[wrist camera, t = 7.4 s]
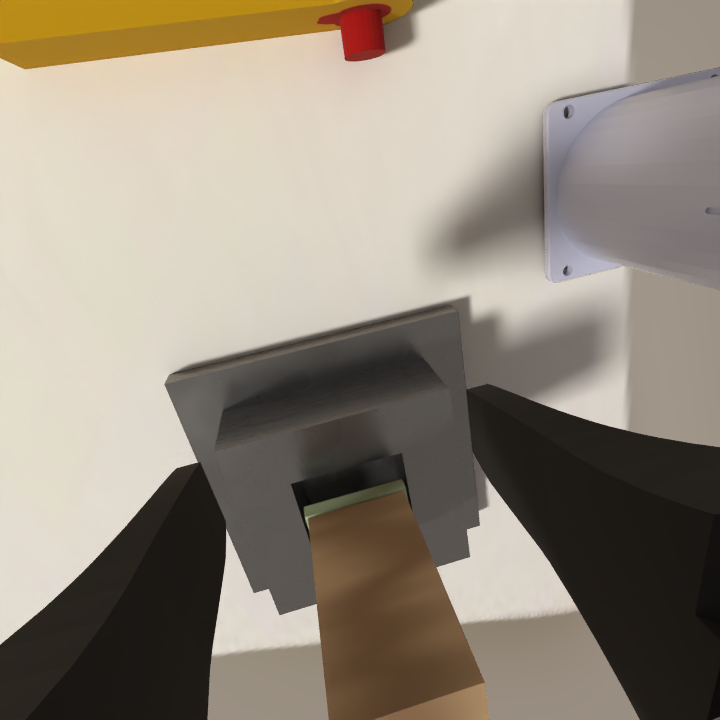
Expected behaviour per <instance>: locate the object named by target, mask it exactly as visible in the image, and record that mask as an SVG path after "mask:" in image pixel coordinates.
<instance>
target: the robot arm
mask: <svg viewBox="0 0 720 720" xmlns="http://www.w3.org/2000/svg"><path fill="white" fill-rule="evenodd" d="M565 107H567V108H568V109H569V115H568V117H567V118H565V117H564V114H563V112H564V109H565ZM543 155H544V226H545V275H546V278H547V279H548V280H549V281H551V282H554V283H556V282H562V281H566V280H570V279H574V278H578V277H582V276H586V275H590V274H594V273H598V272H602V271H606V270H610V269H614V268H618V267H622V266H625V267H629V268H633V269H637V270H641V271H645V272H649V273H653V274H657V275H661V276H665V277H669V278H674V279H677V280H681V281H685V282H689V283H693V284H697V285H701V286H705V287H709V288H713V289H717V290H720V67H719V68H714V69H710V70H705V71H700V72H695V73H690V74H686V75H681V76H676V77H671V78H667V79H662V80H657V81H652V82H647V83H643V84H637V85H632V86H628V87H623V88H618V89H613V90H608V91H603V92H599V93H594V94H589V95H584V96H579V97H574V98H570V99H565V100H560V101H556V102H553V103H550V104H549V105H548V106H547V107H546V108H545V111H544V114H543ZM566 266H568V269H567V272H566V273H564V274H563V269H564V268H565V267H566ZM466 394H467V403H468V413H469V422H470V431H471V441H472V450H473V453H474V455H475V456H476V458H477V460H478V462H479V464H480V466H481V467H482V469H483V471H484V473H485V474H486V476H487V478H488V479H489V481H490V483H491V484H492V485H493V487H494V488H495V489H496V491H497V492H498V493H499V495H500V496H501V497H502V499H503V500H504V501H505V503H506V504H507V505H508V507H509V508H510V509H511V511H512V512H513V513H514V515H515V516H516V517H517V519H518V520H519V521H520V523H521V524H522V525H523V526H524V528H525V529H526V530H527V532H528V533H529V534H530V536H531V537H532V538H533V540H534V541H535V542H536V544H537V545H538V546H539V548H540V549H541V550H542V552H543V553H544V555H545V556H546V558H547V559H548V561H549V562H550V563H551V565H552V567H553V568H554V570H555V572H556V573H557V575H558V576H559V578H560V580H561V581H562V583H563V585H564V586H565V588H566V590H567V591H568V593H569V594H570V596H571V598H572V599H573V601H574V603H575V604H576V606H577V608H578V610H579V611H580V613H581V615H582V616H583V618H584V620H585V622H586V623H587V625H588V627H589V628H590V630H591V632H592V634H593V635H594V637H595V639H596V640H597V642H598V644H599V646H600V647H601V649H602V651H603V653H604V655H605V656H606V658H607V660H608V662H609V664H610V666H611V667H612V669H613V671H614V673H615V674H616V676H617V678H618V680H619V682H620V683H621V685H622V687H623V689H624V691H625V692H626V694H627V696H628V698H629V700H630V702H631V704H632V706H633V708H634V709H635V711H636V713H637V715H638V717H639V719H640V720H720V447H714V446H707V445H699V444H692V443H686V442H681V441H675V440H669V439H663V438H658V437H653V436H647V435H643V434H638V433H634V432H630V431H626V430H622V429H618V428H614V427H610V426H606V425H602V424H599V423H595V422H592V421H589V420H586V419H583V418H579V417H576V416H573V415H570V414H567V413H564V412H561V411H558V410H556V409H553V408H550V407H547V406H545V405H542V404H539V403H537V402H534V401H532V400H529V399H526V398H524V397H521V396H519V395H516V394H514V393H511V392H509V391H506V390H503V389H501V388H498V387H495V386H492V385H489V384H486V385H482V386H478V387H474V388H471V389H467V390H466ZM225 559H226V520H225V518H224V516H223V513H222V511H221V509H220V506H219V504H218V502H217V500H216V497H215V495H214V493H213V490H212V488H211V486H210V483H209V481H208V479H207V476H206V474H205V472H204V469H203V467H202V465H201V462H198V463H195V464H191V465H187V466H184V467H180V468H176V469H175V470H174V471H173V472H172V473H171V475H170V476H169V477H168V478H167V479H166V480H165V481H164V482H163V484H162V485H161V486H160V487H159V488H158V489H157V491H156V492H155V493H154V494H153V495H152V497H151V498H150V499H149V500H148V501H147V502H146V504H145V505H144V506H143V507H142V508H141V509H140V511H139V512H138V513H137V514H136V515H135V516H134V518H133V519H132V520H131V521H130V522H129V523H128V525H127V526H126V527H125V528H124V529H123V530H122V531H121V532H120V533H119V534H118V536H117V537H116V538H115V539H114V540H113V541H112V542H111V543H110V544H109V545H108V546H107V547H106V548H105V550H104V551H103V552H102V553H101V554H100V555H99V556H98V557H97V558H96V559H95V560H94V561H93V562H92V563H91V564H90V565H89V566H88V567H87V568H86V569H85V570H84V571H83V572H82V573H81V574H80V575H79V576H78V577H77V578H76V579H75V580H74V581H73V582H72V583H71V584H70V585H69V586H68V587H67V588H66V589H65V590H63V591H62V592H61V593H60V594H59V595H58V596H57V597H56V598H55V599H54V600H53V601H52V602H50V603H49V604H48V605H47V606H46V607H45V608H44V609H43V610H41V611H40V612H39V613H38V614H37V615H35V616H34V617H33V618H32V619H31V620H29V621H28V622H27V623H26V624H25V625H23V626H22V627H21V628H20V629H19V630H17V631H16V632H15V633H14V634H13V635H11V636H10V637H9V638H8V639H7V640H5V641H4V642H3V643H2V644H1V645H0V720H207V715H208V696H209V677H210V664H211V655H212V647H213V640H214V634H215V627H216V620H217V614H218V607H219V601H220V594H221V588H222V581H223V574H224V567H225Z"/></svg>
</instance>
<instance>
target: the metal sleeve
mask: <svg viewBox="0 0 720 720" xmlns="http://www.w3.org/2000/svg"><path fill="white" fill-rule="evenodd" d="M165 387H166V389H167V391H168V394H169V396H170V398H171V401H172V403H173V405H174V408H175V410H176V412H177V415H178V417H179V419H180V422H181V424H182V426H183V429H184V431H185V433H186V436H187V438H188V440H189V443H190V445H191V447H192V450H193V452H194V454H195V457H196V459H197V461H198V462H201V465H202V467H203V469H204V472H205V474H206V476H207V479H208V481H209V483H210V486H211V488H212V490H213V493H214V495H215V497H216V500H217V502H218V504H219V506H220V509H221V511H222V513H223V516H224V518H225V520H226V529H227V531H228V533H229V536H230V538H231V540H232V543H233V545H234V547H235V550H236V552H237V554H238V557H239V559H240V561H241V564H242V566H243V568H244V571H245V573H246V575H247V578H248V580H249V582H250V585H251V587H252V589H253V592H254V593H256V592H259V591H263V590H266V589H269V590H270V593H271V595H272V597H273V600H274V602H275V605H276V607H277V610H278V612H279V615H282V614H285V613H288V612H291V611H295V610H298V609H301V608H305V607H308V606H311V605H314V604H317V601H316V591H315V582H314V572H313V563H312V553H311V544H310V534H309V529H308V526H307V523H306V520H305V514H304V507H306V506H309V505H313V504H316V503H320V502H323V501H327V500H330V499H334V498H337V497H341V496H344V495H348V494H351V493H355V492H358V491H362V490H365V489H369V488H372V487H376V486H379V485H383V484H386V483H390V482H394V481H397V480H401V479H402V481H403V483H404V485H405V488H406V492H407V497H408V502H409V504H410V507H411V509H412V511H413V514H414V516H415V519H416V521H417V523H418V526H419V528H420V530H421V533H422V535H423V538H424V540H425V542H426V545H427V547H428V549H429V552H430V554H431V556H432V559H433V561H434V564H435V566H436V567H439V566H442V565H445V564H448V563H452V562H455V561H458V560H461V559H465V558H468V557H470V553H469V545H468V537H467V529H470V528H473V527H476V526H480V522H479V512H478V503H477V493H476V483H475V473H474V464H473V454H472V444H471V434H470V425H469V415H468V405H467V395H466V386H465V376H464V366H463V356H462V346H461V337H460V327H459V317H458V311H457V310H456V309H455V308H453V307H452V306H450V305H449V306H445V307H441V308H437V309H433V310H429V311H425V312H421V313H417V314H413V315H409V316H405V317H401V318H397V319H393V320H389V321H385V322H381V323H377V324H373V325H369V326H365V327H361V328H357V329H353V330H348V331H344V332H340V333H336V334H332V335H328V336H324V337H320V338H316V339H312V340H308V341H304V342H300V343H296V344H292V345H288V346H284V347H280V348H276V349H272V350H268V351H264V352H260V353H256V354H252V355H248V356H244V357H240V358H236V359H232V360H228V361H224V362H220V363H215V364H211V365H207V366H203V367H199V368H195V369H191V370H187V371H183V372H179V373H175V374H171V375H169V376H168V378H167V380H166V382H165Z"/></svg>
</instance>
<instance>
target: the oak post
mask: <svg viewBox="0 0 720 720" xmlns="http://www.w3.org/2000/svg"><path fill="white" fill-rule="evenodd" d="M304 514H305V520H306V523H307V526H308V529H309V534H310V544H311V553H312V563H313V572H314V582H315V591H316V601H317V610H318V620H319V629H320V639H321V648H322V657H323V667H324V677H325V686H326V696H327V705H328V715H329V720H489V715H488V706H487V698H486V690H485V682H484V680H483V677H482V675H481V673H480V670H479V668H478V666H477V663H476V661H475V659H474V656H473V654H472V651H471V649H470V647H469V644H468V642H467V639H466V637H465V635H464V632H463V630H462V628H461V625H460V623H459V620H458V618H457V616H456V613H455V611H454V609H453V606H452V604H451V602H450V599H449V597H448V594H447V592H446V590H445V587H444V585H443V583H442V580H441V578H440V575H439V573H438V571H437V568H436V566H435V564H434V561H433V559H432V556H431V554H430V552H429V549H428V547H427V545H426V542H425V540H424V538H423V535H422V533H421V530H420V528H419V526H418V523H417V521H416V519H415V516H414V514H413V511H412V509H411V507H410V504H409V502H408V497H407V492H406V488H405V485H404V483H403V481H402V479H401V480H397V481H394V482H390V483H386V484H383V485H379V486H376V487H372V488H369V489H365V490H362V491H358V492H355V493H351V494H348V495H344V496H341V497H337V498H334V499H330V500H327V501H323V502H320V503H316V504H313V505H309V506H306V507H304Z"/></svg>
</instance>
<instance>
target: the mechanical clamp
mask: <svg viewBox="0 0 720 720" xmlns="http://www.w3.org/2000/svg"><path fill="white" fill-rule="evenodd" d="M412 6H413V0H0V58H1V59H3V60H6V61H8V62H10V63H12V64H15V65H17V66H19V67H21V68H24V69H30V68H38V67H46V66H54V65H62V64H70V63H78V62H86V61H94V60H102V59H110V58H118V57H126V56H134V55H142V54H150V53H158V52H166V51H174V50H181V49H189V48H197V47H205V46H213V45H221V44H229V43H237V42H245V41H253V40H261V39H269V38H277V37H285V36H293V35H301V34H309V33H317V32H325V31H333V30H341V34H342V41H343V49H344V56H345V60H346V61H363V60H368V59H372V58H376V57H379V56H381V55H383V54H384V53H385V43H384V33H383V24H387V23H389V22H392V21H394V20H396V19H398V18H400V17H402V16H403V15H405V14H406V13H408V12H409V11H410V10H411V8H412Z"/></svg>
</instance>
